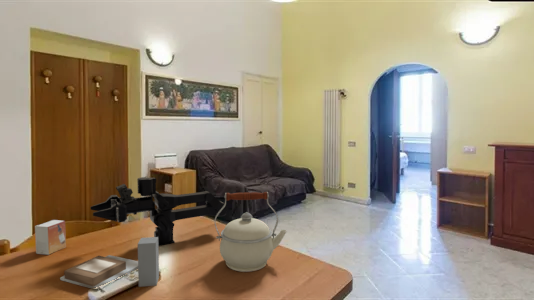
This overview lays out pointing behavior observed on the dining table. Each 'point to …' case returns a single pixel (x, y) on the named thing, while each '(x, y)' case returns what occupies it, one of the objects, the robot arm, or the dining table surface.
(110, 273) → the plinth
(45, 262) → the dining table surface
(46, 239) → the small box
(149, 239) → the post
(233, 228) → the kettle
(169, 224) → the robot arm
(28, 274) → the dining table surface
